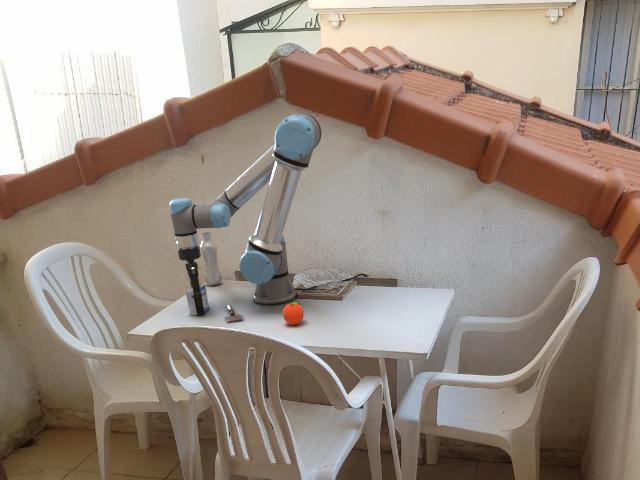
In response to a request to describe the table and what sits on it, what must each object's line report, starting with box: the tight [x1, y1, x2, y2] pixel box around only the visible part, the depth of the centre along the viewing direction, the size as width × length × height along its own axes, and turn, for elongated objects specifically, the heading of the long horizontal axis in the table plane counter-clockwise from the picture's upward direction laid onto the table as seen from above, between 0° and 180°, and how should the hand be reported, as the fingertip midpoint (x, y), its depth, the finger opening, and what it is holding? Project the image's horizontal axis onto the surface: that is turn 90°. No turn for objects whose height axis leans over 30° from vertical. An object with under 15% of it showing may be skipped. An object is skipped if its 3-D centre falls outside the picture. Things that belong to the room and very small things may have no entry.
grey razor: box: [225, 304, 243, 324], centre depth 241 cm, size 16×5×2 cm, turn 15°
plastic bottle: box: [199, 231, 222, 286], centre depth 272 cm, size 6×7×20 cm
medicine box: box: [185, 284, 210, 316], centre depth 245 cm, size 8×4×9 cm, turn 168°
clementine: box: [282, 302, 305, 326], centre depth 227 cm, size 8×7×7 cm
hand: (199, 310), depth 247 cm, fingers closed on medicine box, 9 cm apart
